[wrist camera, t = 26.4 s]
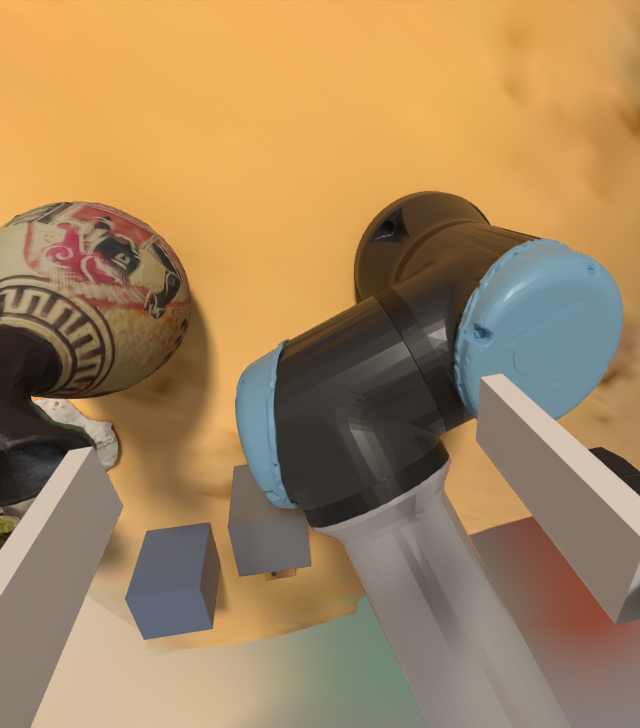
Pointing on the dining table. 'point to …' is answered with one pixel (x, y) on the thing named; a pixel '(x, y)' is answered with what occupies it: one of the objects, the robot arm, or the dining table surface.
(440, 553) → the robot arm
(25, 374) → the ceramic jug
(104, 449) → the grey piece
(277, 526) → the matte gray cube
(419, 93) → the dining table surface
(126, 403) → the dining table surface
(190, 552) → the slate blue cube
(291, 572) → the letter cube
